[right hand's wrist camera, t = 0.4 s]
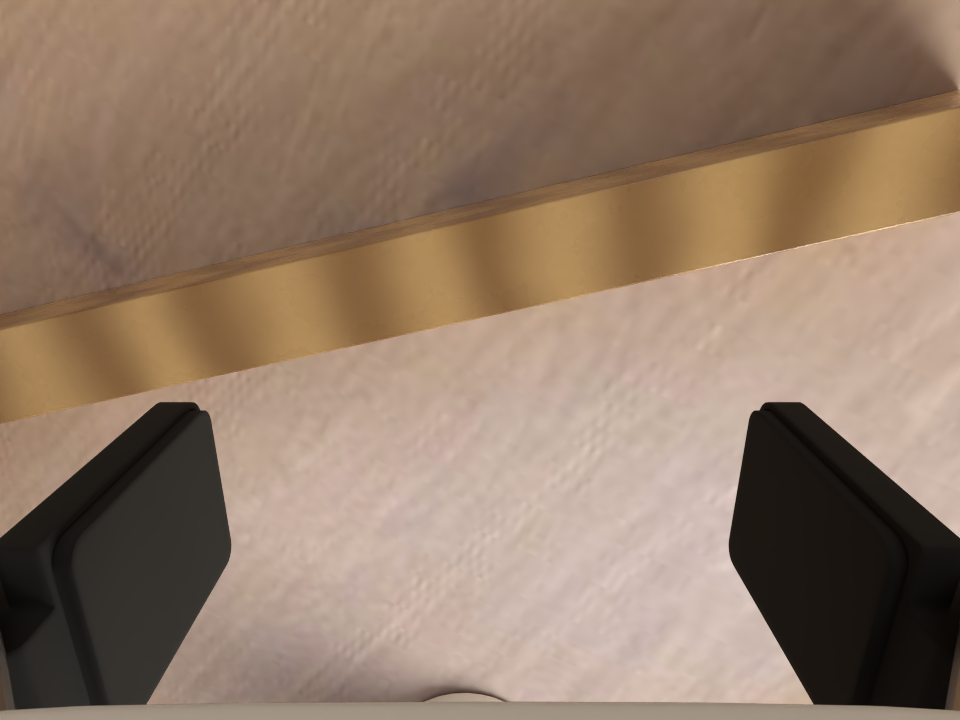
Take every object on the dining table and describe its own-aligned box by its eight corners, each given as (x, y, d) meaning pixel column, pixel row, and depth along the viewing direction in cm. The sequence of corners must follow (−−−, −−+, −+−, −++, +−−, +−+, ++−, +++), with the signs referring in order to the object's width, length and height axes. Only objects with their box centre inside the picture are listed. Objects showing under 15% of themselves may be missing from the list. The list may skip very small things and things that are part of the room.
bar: (-98, 415, 43) (-206, 469, 36) (-139, 347, 42) (-261, 390, 35) (957, 179, 38) (1062, 190, 31) (960, 89, 36) (1072, 80, 29)
